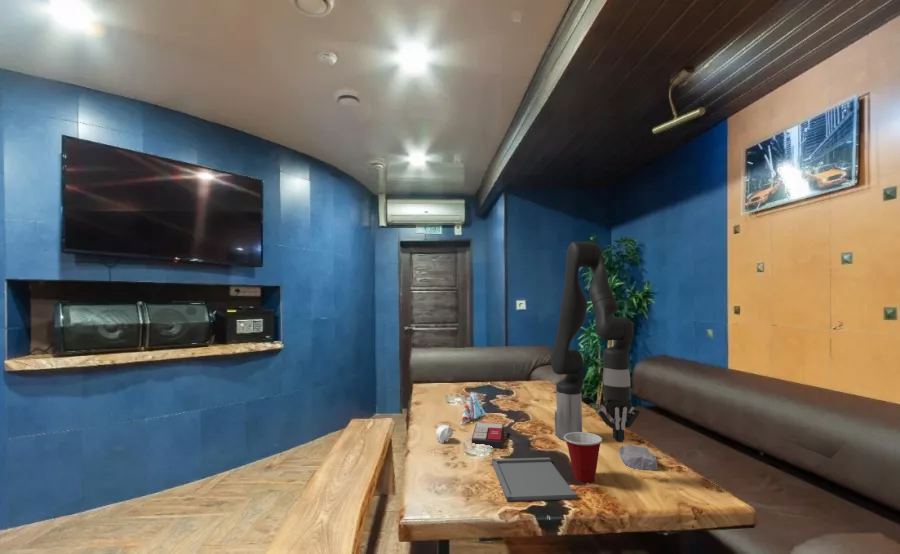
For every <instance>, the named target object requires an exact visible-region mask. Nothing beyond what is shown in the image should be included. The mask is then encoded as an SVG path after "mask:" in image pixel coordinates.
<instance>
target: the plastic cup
mask: <svg viewBox="0 0 900 554" xmlns="http://www.w3.org/2000/svg"><path fill="white" fill-rule="evenodd" d="M564 439H565V440H566V441H565V440H564V441H565V442H566V445H567V449H568V454H569V459H570V464H571V468H572V473H573V477H574V479H575V480H577V481H579V482H581V481H582V483H593V482H594V481H595V479H596V473H597V467H598V463H599V462H598V459H599V454H600V453H599V452H600V448H601V444H602V441H603V437H601V436H600V435H598V434H595V433H591V432H586V431H585V432H584V431H582V432H573V433H568V434H566V435H564Z"/></svg>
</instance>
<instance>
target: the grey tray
mask: <svg viewBox="0 0 900 554" xmlns="http://www.w3.org/2000/svg"><path fill="white" fill-rule="evenodd" d="M551 461H552V459H551V458H550V457H527V458H525V457H523V458H521V457H520V458H519V457H518V458H492V459H491V463H492V466H493V468H494V471H495V474H496V476H497V479H498V481H499V484H500V486H501V489H502V492H503V494H504V498H505V499H506V502H510V503H511V502H533V501H534V502H536V501H559V500H561V501H563V500H579V499H578V498H579V497H578V493H577V491H573V489H572V488H571V487H570V485H569V484H568V482H567V481H566V480H565V478H564V477H563V476H562V474H561V473H560V472H559V471H558V469H557V468H556V467H555V465H554V464H553V462H551Z"/></svg>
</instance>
